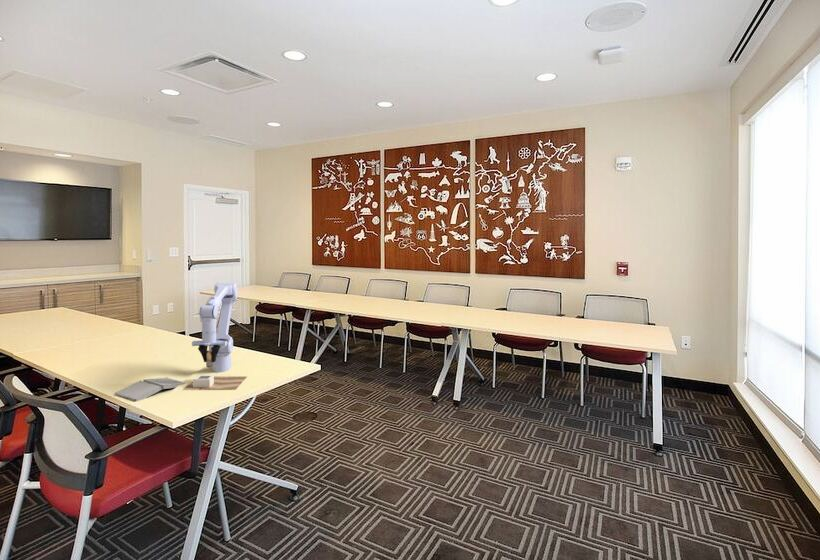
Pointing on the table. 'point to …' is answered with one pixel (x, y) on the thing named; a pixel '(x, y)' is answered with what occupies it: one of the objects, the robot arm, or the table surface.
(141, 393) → the grey bent flat piece
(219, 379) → the subfloor
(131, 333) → the table surface
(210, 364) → the copper and grey cylinder
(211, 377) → the white open box
